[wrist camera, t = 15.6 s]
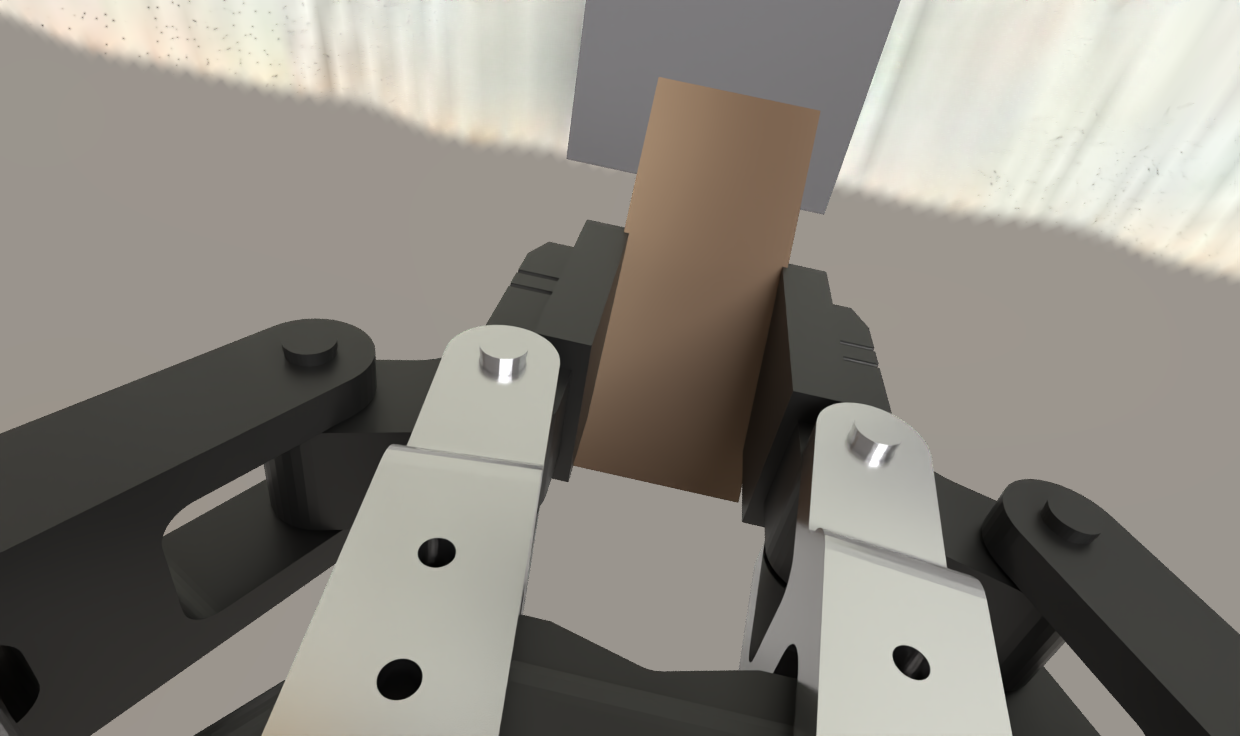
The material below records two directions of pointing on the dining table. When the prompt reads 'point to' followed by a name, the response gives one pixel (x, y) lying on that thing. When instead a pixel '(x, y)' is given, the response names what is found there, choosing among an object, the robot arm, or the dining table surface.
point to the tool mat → (726, 69)
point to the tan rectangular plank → (697, 287)
